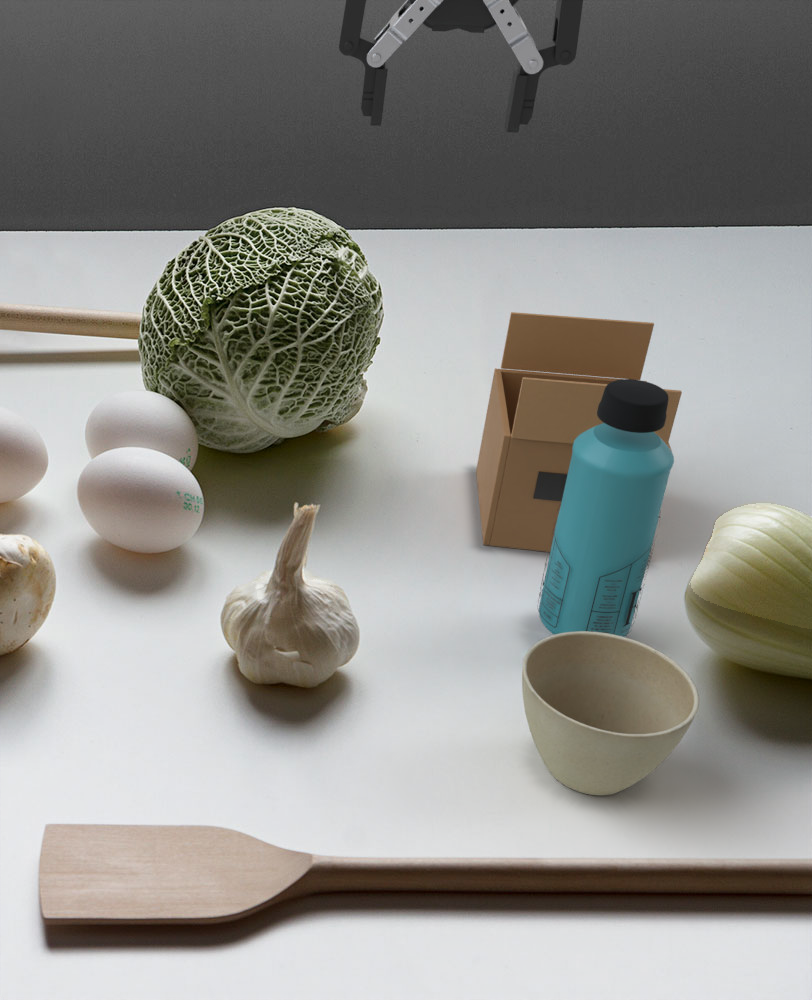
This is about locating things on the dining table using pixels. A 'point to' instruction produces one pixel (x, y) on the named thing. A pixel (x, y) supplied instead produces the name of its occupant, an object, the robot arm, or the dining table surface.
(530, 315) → the carton
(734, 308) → the dining table surface
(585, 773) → the beige bowl
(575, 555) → the beverage bottle
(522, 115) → the robot arm
